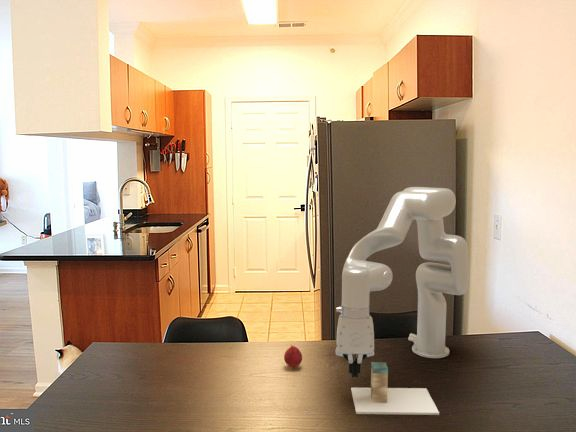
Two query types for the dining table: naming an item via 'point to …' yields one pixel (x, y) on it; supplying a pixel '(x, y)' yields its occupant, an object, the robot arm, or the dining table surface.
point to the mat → (395, 402)
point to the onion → (293, 356)
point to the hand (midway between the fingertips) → (354, 375)
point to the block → (379, 382)
